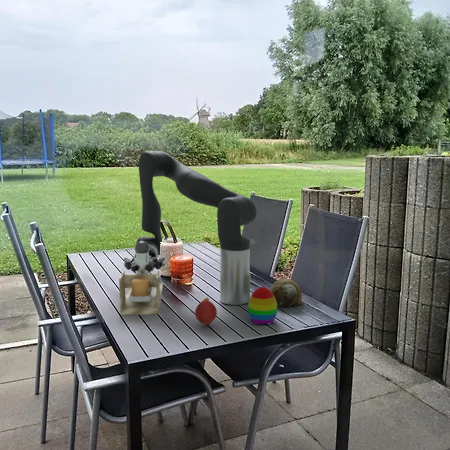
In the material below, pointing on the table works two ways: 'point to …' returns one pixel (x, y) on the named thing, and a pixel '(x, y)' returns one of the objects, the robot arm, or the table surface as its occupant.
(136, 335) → the table surface
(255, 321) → the decorative egg
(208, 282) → the table surface
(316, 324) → the table surface
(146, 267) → the shaft
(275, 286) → the seashell
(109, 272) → the table surface
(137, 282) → the rounded orange object
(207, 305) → the onion
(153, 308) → the frame
